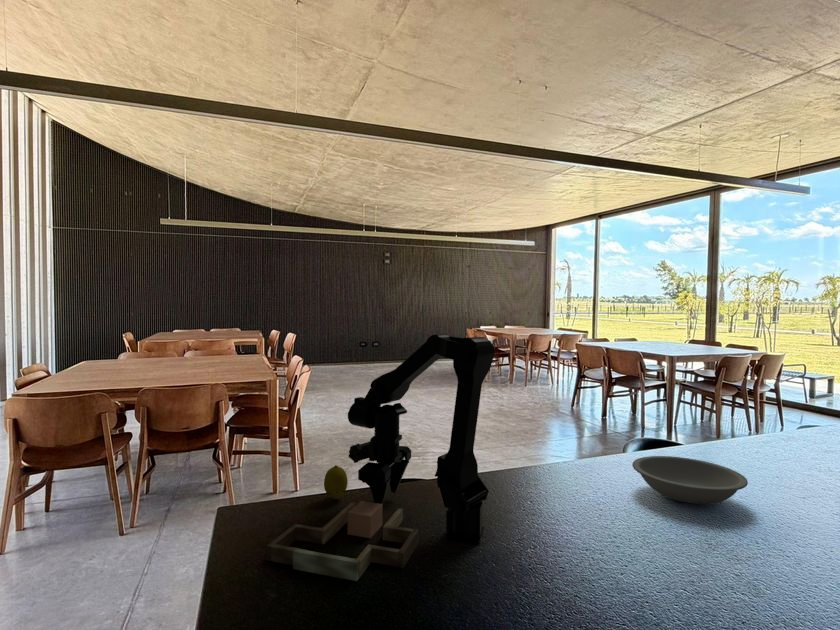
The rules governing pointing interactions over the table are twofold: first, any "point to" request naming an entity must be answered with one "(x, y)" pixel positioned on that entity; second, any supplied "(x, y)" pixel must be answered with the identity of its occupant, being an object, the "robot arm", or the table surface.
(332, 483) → the lemon
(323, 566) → the box
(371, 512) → the block
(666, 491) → the soup bowl
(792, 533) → the table surface
